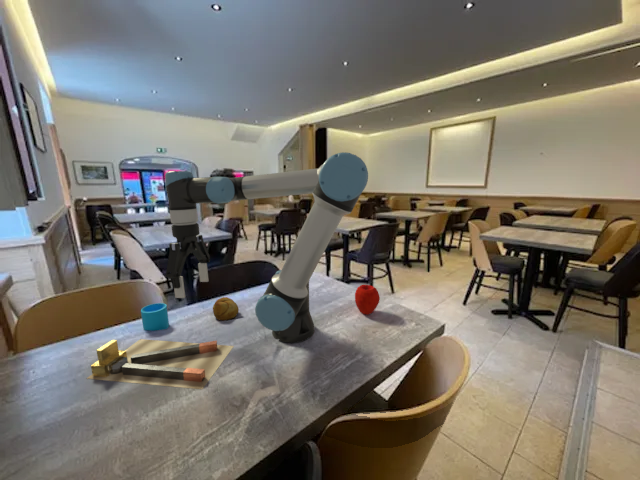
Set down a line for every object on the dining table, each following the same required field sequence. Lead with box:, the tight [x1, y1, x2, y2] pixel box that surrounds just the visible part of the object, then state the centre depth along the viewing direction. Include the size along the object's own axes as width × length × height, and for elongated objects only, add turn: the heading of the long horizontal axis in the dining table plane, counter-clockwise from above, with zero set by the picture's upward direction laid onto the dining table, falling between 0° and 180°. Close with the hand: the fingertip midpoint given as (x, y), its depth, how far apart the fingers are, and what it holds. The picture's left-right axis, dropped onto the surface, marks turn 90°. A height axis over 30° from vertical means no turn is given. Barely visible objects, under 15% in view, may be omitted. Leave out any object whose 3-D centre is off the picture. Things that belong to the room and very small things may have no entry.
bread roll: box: [212, 296, 239, 322], centre depth 111 cm, size 13×10×8 cm
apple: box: [354, 284, 381, 316], centre depth 112 cm, size 10×10×12 cm
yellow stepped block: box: [90, 339, 127, 377], centre depth 77 cm, size 4×7×7 cm, turn 173°
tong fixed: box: [108, 357, 205, 382], centre depth 75 cm, size 28×4×2 cm, turn 83°
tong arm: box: [131, 340, 218, 364], centre depth 82 cm, size 23×2×2 cm, turn 108°
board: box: [86, 338, 235, 390], centre depth 81 cm, size 33×19×2 cm, turn 83°
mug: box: [140, 302, 170, 332], centre depth 103 cm, size 12×8×8 cm
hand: (193, 289), depth 88 cm, fingers open, 13 cm apart
